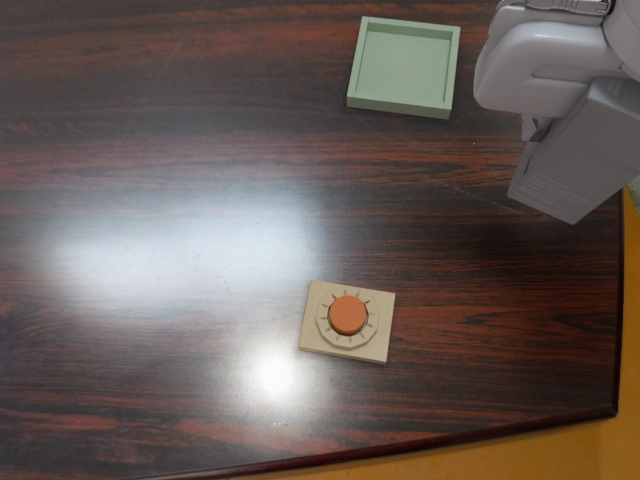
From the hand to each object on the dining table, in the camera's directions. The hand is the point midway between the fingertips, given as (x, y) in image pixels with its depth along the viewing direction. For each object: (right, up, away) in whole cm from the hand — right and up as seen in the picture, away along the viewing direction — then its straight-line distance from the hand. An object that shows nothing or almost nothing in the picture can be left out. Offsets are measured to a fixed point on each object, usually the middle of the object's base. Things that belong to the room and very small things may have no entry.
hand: (587, 141), depth 42 cm
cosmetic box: (0, -2, +6) cm, 6 cm away
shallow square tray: (-9, +16, +34) cm, 39 cm away
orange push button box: (-18, -18, +22) cm, 33 cm away
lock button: (-18, -16, +18) cm, 30 cm away
